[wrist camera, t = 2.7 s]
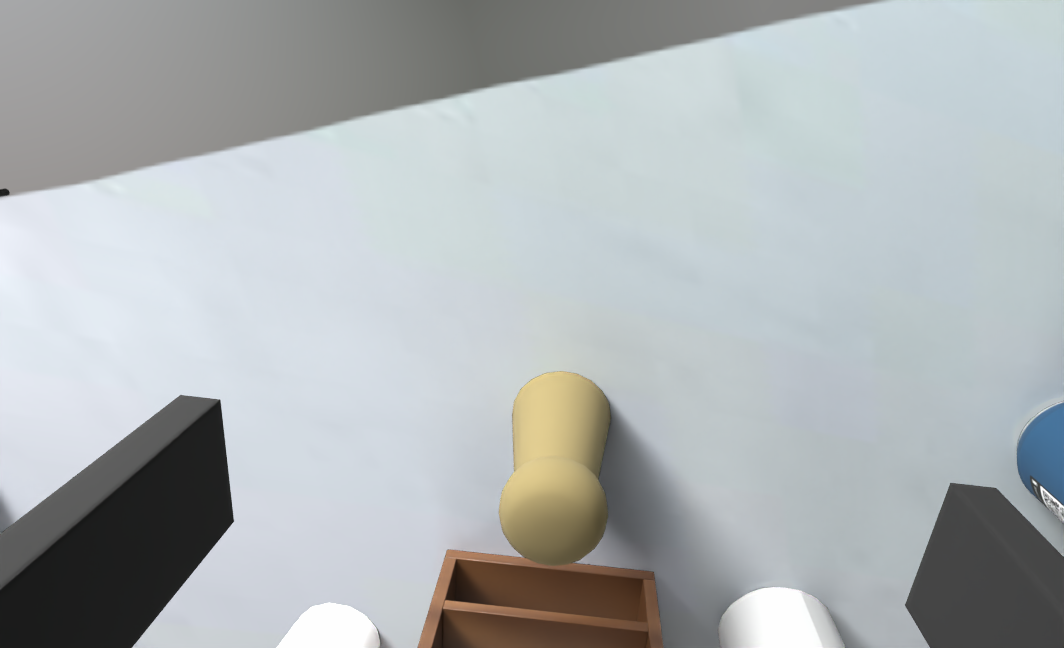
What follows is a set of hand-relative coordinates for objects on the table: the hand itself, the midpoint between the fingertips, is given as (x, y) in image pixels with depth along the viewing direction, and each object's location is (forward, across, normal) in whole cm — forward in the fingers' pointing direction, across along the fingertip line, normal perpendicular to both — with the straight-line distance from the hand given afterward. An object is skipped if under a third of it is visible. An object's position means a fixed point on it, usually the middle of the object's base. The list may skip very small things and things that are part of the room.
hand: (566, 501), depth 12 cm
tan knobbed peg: (+25, 0, -12) cm, 28 cm away
